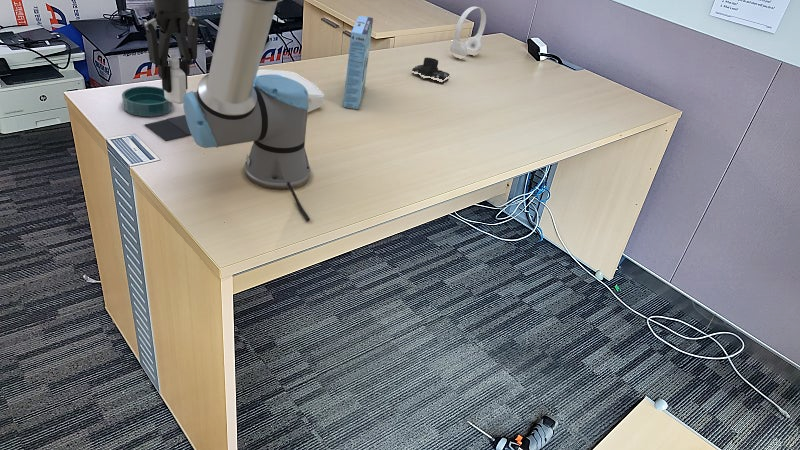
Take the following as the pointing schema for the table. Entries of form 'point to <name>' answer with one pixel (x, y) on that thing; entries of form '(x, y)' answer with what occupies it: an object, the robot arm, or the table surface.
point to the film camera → (430, 70)
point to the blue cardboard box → (357, 61)
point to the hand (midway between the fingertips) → (175, 88)
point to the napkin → (170, 128)
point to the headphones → (472, 42)
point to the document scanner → (313, 91)
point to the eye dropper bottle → (176, 82)
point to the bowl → (146, 101)
